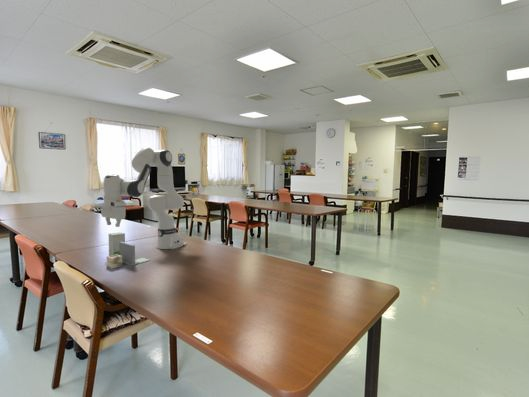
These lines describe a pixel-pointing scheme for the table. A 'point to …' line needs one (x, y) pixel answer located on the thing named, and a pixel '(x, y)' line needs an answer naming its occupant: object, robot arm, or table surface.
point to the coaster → (142, 260)
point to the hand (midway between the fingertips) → (113, 225)
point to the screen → (127, 253)
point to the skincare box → (115, 242)
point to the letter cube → (114, 261)
